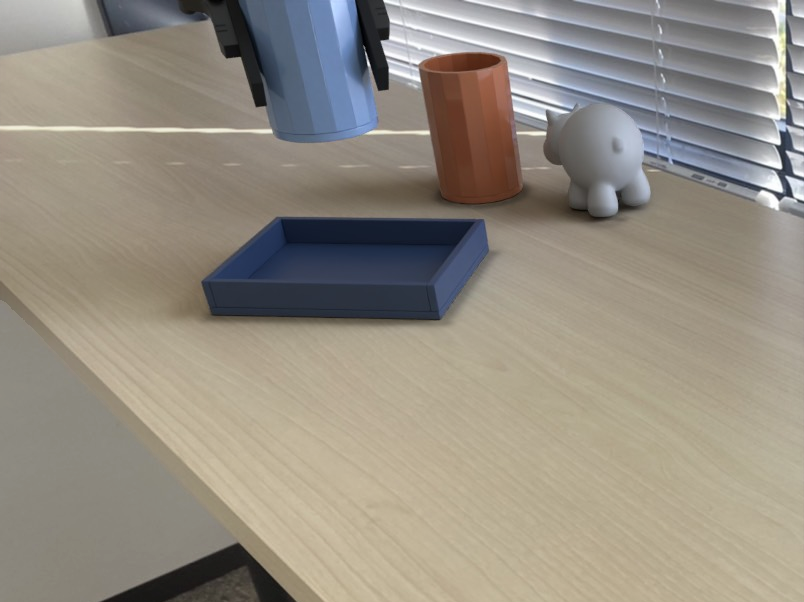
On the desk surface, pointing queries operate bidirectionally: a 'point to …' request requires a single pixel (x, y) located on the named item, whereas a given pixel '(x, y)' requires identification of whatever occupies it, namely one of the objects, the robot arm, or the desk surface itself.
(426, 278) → the blue tray
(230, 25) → the robot arm
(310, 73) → the blue cup
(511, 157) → the clay cup
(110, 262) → the desk surface
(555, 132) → the round bodied animal figurine
